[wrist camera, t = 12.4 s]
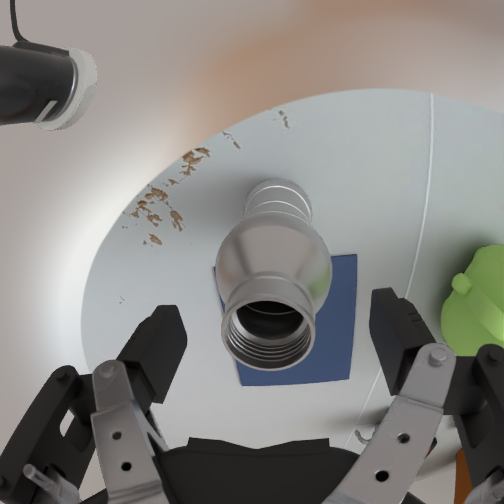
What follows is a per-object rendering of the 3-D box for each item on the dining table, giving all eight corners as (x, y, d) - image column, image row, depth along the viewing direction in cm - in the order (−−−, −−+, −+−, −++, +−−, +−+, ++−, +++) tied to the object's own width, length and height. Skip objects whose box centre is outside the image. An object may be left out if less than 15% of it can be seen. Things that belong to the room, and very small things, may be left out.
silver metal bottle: (303, 169, 27) (349, 238, 8) (314, 233, 29) (353, 383, 11) (240, 181, 28) (158, 268, 9) (254, 243, 30) (212, 395, 12)
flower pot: (431, 463, 51) (442, 513, 33) (495, 418, 42) (516, 468, 24) (455, 466, 54) (466, 506, 36) (508, 427, 46) (524, 468, 27)
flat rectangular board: (214, 266, 32) (213, 268, 32) (356, 254, 29) (357, 255, 29) (242, 384, 39) (242, 386, 39) (348, 377, 37) (348, 379, 36)
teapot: (377, 344, 34) (408, 440, 19) (466, 206, 25) (557, 259, 11) (469, 374, 35) (500, 437, 21) (537, 278, 27) (589, 328, 12)
